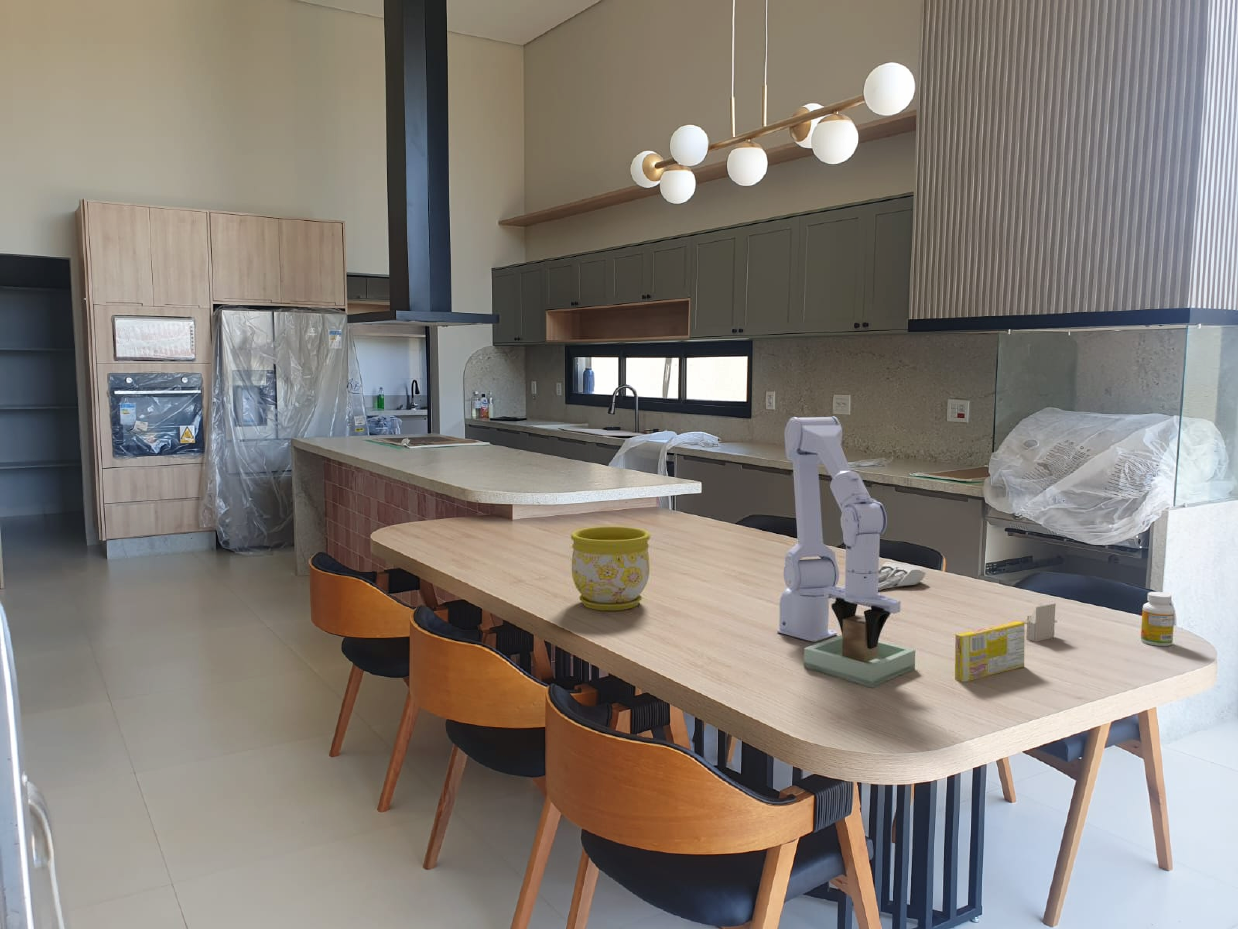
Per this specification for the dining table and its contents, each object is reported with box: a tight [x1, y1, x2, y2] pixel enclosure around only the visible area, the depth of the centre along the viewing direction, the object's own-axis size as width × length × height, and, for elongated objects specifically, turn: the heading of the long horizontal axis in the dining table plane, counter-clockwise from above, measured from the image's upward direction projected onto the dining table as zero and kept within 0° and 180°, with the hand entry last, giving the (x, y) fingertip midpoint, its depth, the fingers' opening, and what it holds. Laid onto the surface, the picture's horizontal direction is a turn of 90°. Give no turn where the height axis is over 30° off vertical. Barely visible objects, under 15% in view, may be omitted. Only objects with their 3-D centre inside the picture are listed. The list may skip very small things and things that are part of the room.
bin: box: [803, 634, 916, 688], centre depth 162 cm, size 14×14×4 cm
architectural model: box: [1020, 602, 1058, 642], centre depth 180 cm, size 3×7×7 cm, turn 118°
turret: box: [878, 561, 927, 592], centre depth 223 cm, size 10×20×5 cm, turn 122°
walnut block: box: [842, 614, 878, 663], centre depth 162 cm, size 4×4×7 cm
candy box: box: [954, 620, 1026, 683], centre depth 159 cm, size 16×2×8 cm, turn 119°
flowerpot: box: [570, 525, 651, 611], centre depth 205 cm, size 18×18×16 cm
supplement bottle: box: [1140, 591, 1176, 647], centre depth 176 cm, size 5×5×10 cm
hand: (859, 644), depth 162 cm, fingers closed on walnut block, 4 cm apart
